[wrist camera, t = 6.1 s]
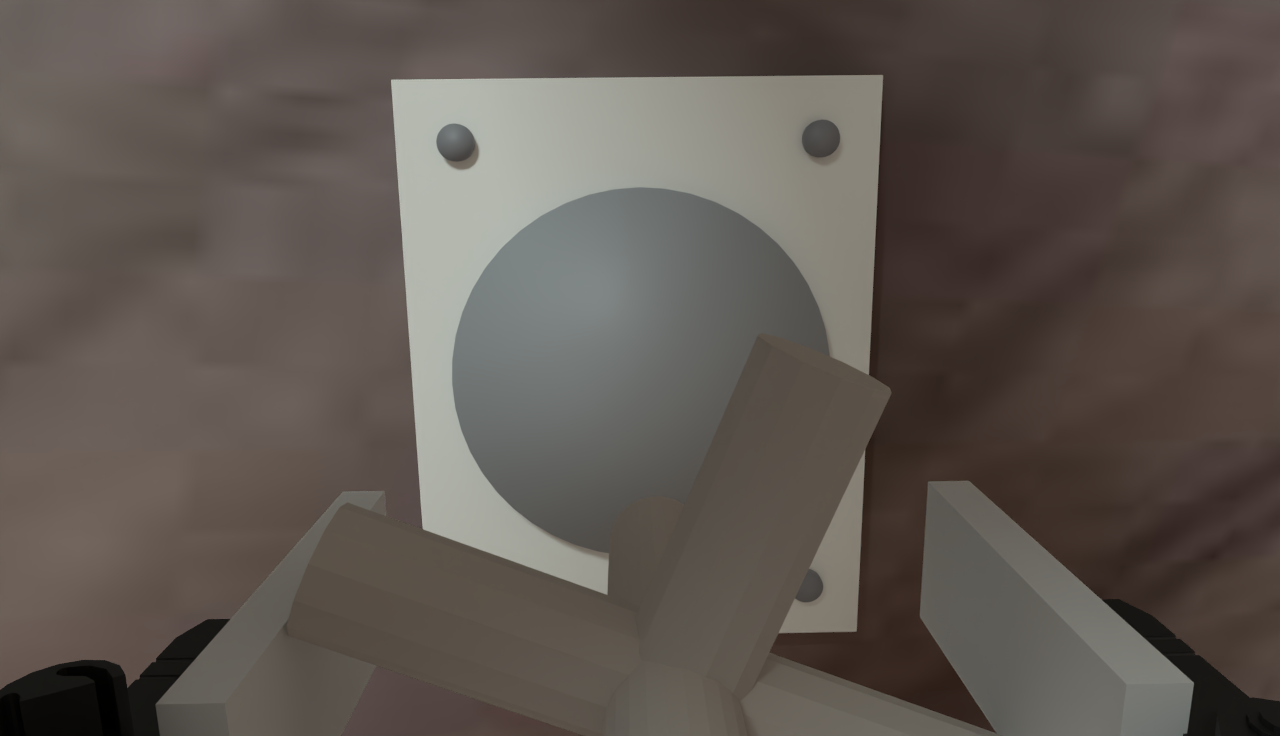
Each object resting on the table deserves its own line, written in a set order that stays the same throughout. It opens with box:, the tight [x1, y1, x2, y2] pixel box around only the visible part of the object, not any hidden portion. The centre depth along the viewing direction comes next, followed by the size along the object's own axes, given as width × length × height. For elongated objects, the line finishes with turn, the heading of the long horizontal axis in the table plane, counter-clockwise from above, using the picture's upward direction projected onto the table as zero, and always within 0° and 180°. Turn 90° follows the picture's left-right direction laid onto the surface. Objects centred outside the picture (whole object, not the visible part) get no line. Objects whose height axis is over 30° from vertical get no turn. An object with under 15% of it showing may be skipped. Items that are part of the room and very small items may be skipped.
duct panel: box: [391, 75, 883, 633], centre depth 31 cm, size 20×16×2 cm
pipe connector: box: [287, 333, 1002, 736], centre depth 12 cm, size 10×10×10 cm
